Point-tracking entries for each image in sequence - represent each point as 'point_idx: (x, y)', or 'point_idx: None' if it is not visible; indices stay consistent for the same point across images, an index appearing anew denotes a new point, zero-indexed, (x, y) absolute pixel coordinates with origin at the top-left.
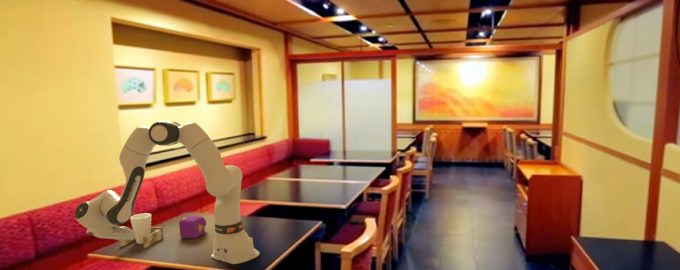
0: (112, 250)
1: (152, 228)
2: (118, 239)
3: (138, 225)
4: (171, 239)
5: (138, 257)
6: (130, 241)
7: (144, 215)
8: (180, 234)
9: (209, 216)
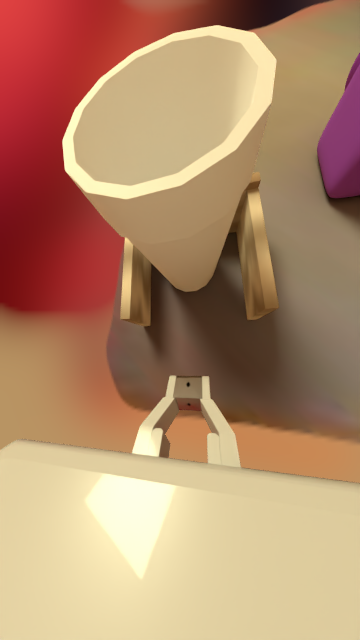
0: (141, 368)
1: None
2: (177, 413)
3: (200, 240)
4: (292, 223)
5: (328, 427)
6: (149, 289)
7: (141, 95)
8: (348, 184)
9: None
